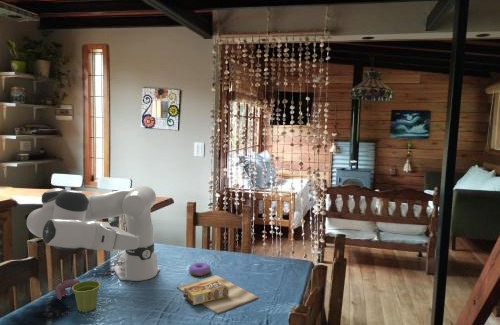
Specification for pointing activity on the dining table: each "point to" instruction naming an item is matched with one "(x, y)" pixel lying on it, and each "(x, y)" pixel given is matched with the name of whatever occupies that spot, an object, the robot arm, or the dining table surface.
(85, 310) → the plant pot
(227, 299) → the wooden board
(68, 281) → the pink arch
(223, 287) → the candy box
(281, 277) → the dining table surface
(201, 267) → the donut
